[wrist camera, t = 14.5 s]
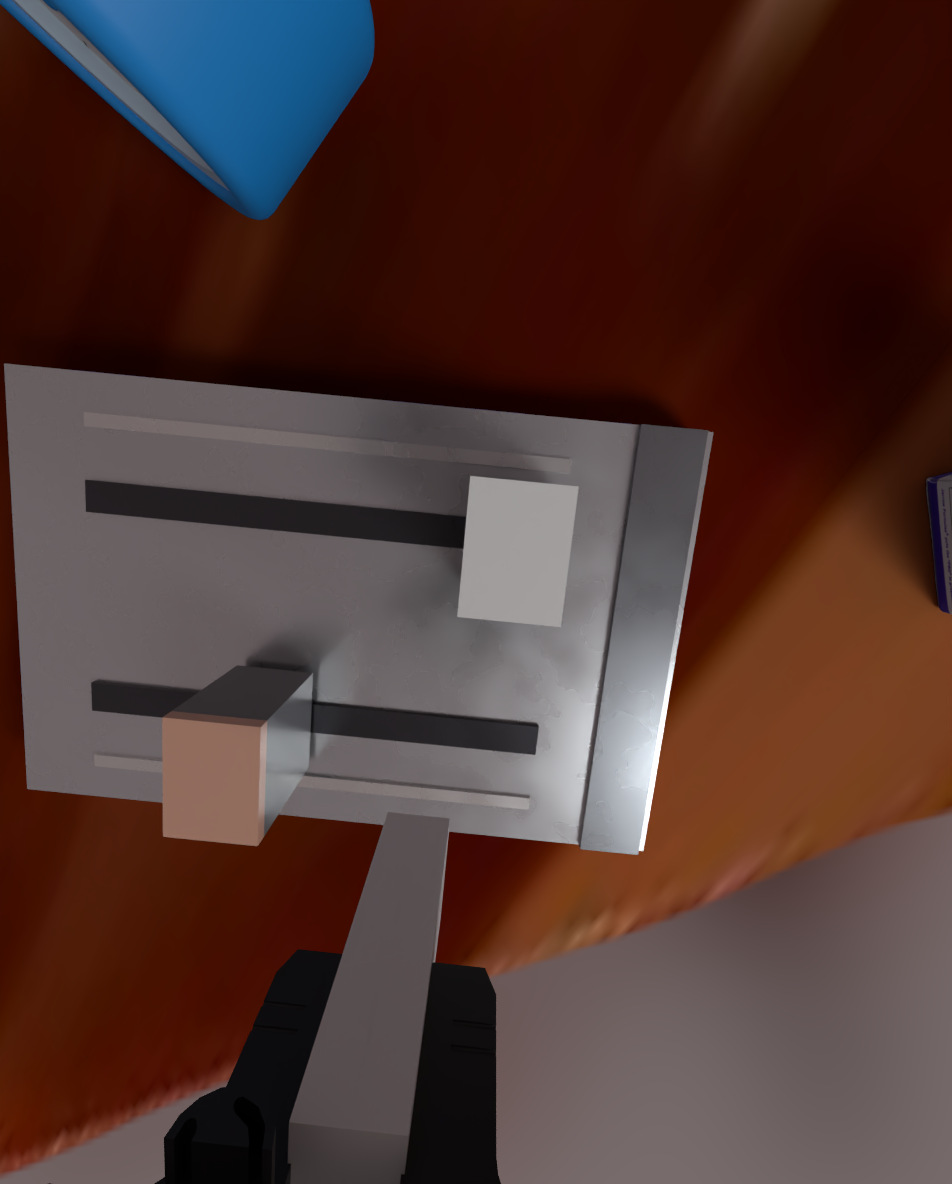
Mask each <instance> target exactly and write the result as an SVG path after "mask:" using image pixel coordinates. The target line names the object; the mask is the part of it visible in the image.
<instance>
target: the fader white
mask: <svg viewBox="0 0 952 1184" xmlns="http://www.w3.org/2000/svg"><path fill="white" fill-rule="evenodd" d="M578 489H579V487H578V486H568V485H558V484H548V483H537V482H527V481H517V480H507V479H496V478H486V477H476V476H470V484H469V495H468V506H467V517H466V527H465V538H464V549H463V560H462V571H461V582H460V593H459V603H458V614H457V617H463V618H473V619H483V620H493V621H503V622H514V623H524V624H534V625H544V626H554V627H561V622H562V614H563V606H564V599H565V591H566V583H567V575H568V567H569V559H570V551H571V544H572V536H573V528H574V520H575V512H576V504H577V496H578Z"/></svg>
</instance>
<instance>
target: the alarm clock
mask: <svg viewBox="0 0 952 1184" xmlns="http://www.w3.org/2000/svg"><path fill="white" fill-rule="evenodd" d="M0 5H1V6H3V7H4V8H5V9H6V10H7V11H8V12H9V13H10V14H11V15H12V16H13V17H14V18H15V19H16V20H18V21H19V22H20V23H21V24H22V25H23V26H24V27H25V28H26V29H27V30H28V31H29V32H30V33H32V34H33V35H34V36H35V37H36V38H37V39H38V40H39V41H40V42H41V43H42V44H43V45H45V46H46V47H47V48H48V49H49V50H50V51H51V52H52V53H53V54H54V55H55V56H57V57H58V58H59V59H60V60H61V61H62V62H63V63H64V64H65V65H66V66H67V67H69V68H70V69H71V70H72V71H73V72H74V73H75V74H76V75H77V76H78V77H80V78H81V79H82V80H83V81H84V82H85V83H86V84H87V85H88V86H89V87H91V88H92V89H93V90H94V91H95V92H96V93H97V94H98V95H99V96H101V97H102V98H103V99H104V100H105V101H106V102H107V103H108V104H109V105H111V106H112V107H113V108H114V109H115V110H116V111H117V112H118V113H120V114H121V115H122V116H123V117H124V118H125V119H126V120H127V121H129V122H130V123H131V124H132V125H133V126H134V127H135V128H136V129H138V130H139V131H140V132H141V133H142V134H143V135H144V136H146V137H147V138H148V139H149V140H150V141H151V142H152V143H154V144H155V145H156V146H157V147H158V148H159V149H161V150H162V151H163V152H164V153H165V154H166V155H167V156H169V157H170V158H171V159H172V160H173V161H175V162H176V163H177V164H178V165H179V166H180V167H182V168H183V169H184V170H185V171H186V172H188V173H189V174H190V175H191V176H192V177H194V178H195V179H196V180H197V181H198V182H200V183H201V184H202V185H203V186H205V187H206V188H207V189H208V190H210V191H211V192H212V193H213V194H215V195H216V196H217V197H219V198H220V199H221V200H223V201H224V202H225V203H227V204H228V205H230V206H231V207H232V208H234V209H235V210H237V211H238V212H240V213H241V214H243V215H245V216H247V217H249V218H252V219H256V220H263V219H267V218H269V217H270V216H271V215H272V214H273V213H274V212H275V210H276V209H277V207H278V206H279V204H280V203H281V202H282V200H283V199H284V197H285V196H286V194H287V193H288V191H289V190H290V188H291V187H292V185H293V184H294V182H295V181H296V179H297V178H298V176H299V175H300V174H301V172H302V171H303V169H304V168H305V166H306V165H307V163H308V162H309V160H310V159H311V157H312V156H313V154H314V153H315V151H316V150H317V149H318V147H319V146H320V144H321V143H322V141H323V140H324V138H325V137H326V135H327V134H328V132H329V131H330V129H331V128H332V126H333V125H334V123H335V122H336V121H337V119H338V118H339V116H340V115H341V113H342V112H343V110H344V109H345V107H346V106H347V104H348V103H349V101H350V100H351V98H352V97H353V96H354V94H355V93H356V91H357V90H358V88H359V87H360V85H361V84H362V82H363V81H364V79H365V78H366V76H367V74H368V71H369V69H370V67H371V64H372V61H373V55H374V24H373V16H372V10H371V5H370V0H0Z"/></svg>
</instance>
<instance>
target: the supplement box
mask: <svg viewBox="0 0 952 1184" xmlns="http://www.w3.org/2000/svg"><path fill="white" fill-rule="evenodd" d="M926 485H927V487H926V490H927V502H928V510H929V517H930V528H931V538H932V546H933V555H934V569H935V580H936V589H937V597H938V605H939V608H940V610H941V611H943V612H946V613H949V614H952V472H949V473H945V474H942V475H938V476H934V477H930V478H927V480H926Z"/></svg>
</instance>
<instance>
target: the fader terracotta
mask: <svg viewBox="0 0 952 1184" xmlns="http://www.w3.org/2000/svg"><path fill="white" fill-rule="evenodd" d="M312 686H313V673H309V672H299V671H289V670H279V669H269V668H259V667H249V666H239V665H237V666H235V667H234V668H232V669H231V670H230V671H228V672H227V673H225V674H224V675H222V676H221V677H219V678H218V679H217V680H215V681H214V682H212V683H211V684H209V685H208V686H207V687H205V688H204V689H202V690H201V691H199V692H198V693H197V694H195V695H194V696H192V697H191V698H189V699H188V700H187V701H185V702H184V703H182V704H181V705H179V706H178V707H177V708H175V709H174V710H172V711H171V712H169V713H168V714H166V715H165V716H164V717H162V760H163V837H172V838H182V839H192V840H202V841H212V842H222V843H232V844H242V845H252V846H258V845H259V843H260V842H261V840H262V839H263V837H264V835H265V834H266V832H267V831H268V829H269V828H270V826H271V825H272V823H273V822H274V820H275V818H276V817H277V815H278V814H279V812H280V811H281V809H282V808H283V806H284V805H285V803H286V802H287V800H288V798H289V797H290V795H291V794H292V792H293V791H294V789H295V788H296V786H297V785H298V783H299V781H300V780H301V778H302V777H303V775H304V774H305V772H306V771H307V769H308V768H309V753H310V730H311V708H312Z"/></svg>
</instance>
